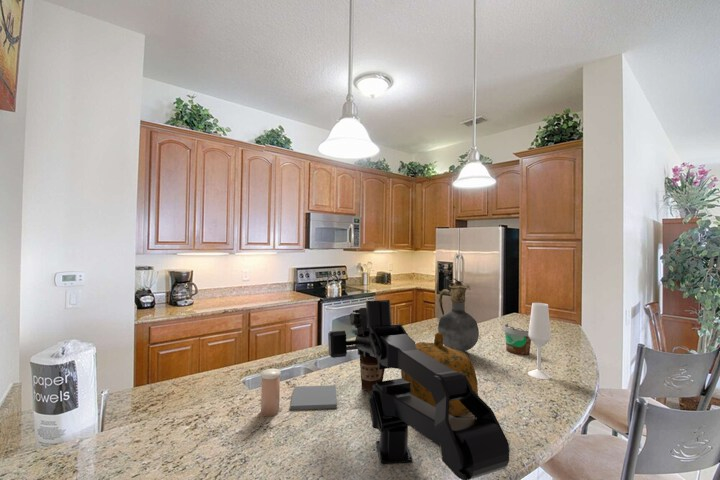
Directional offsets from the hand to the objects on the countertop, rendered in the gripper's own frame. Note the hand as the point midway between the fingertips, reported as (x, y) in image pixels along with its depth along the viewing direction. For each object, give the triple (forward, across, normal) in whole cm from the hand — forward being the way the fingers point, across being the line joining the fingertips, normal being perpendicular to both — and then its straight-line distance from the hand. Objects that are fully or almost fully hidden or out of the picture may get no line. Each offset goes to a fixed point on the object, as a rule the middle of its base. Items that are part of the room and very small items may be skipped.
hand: (353, 338), depth 89 cm
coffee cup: (+6, -7, +16) cm, 18 cm away
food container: (+17, -75, +14) cm, 78 cm away
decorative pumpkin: (-10, -20, +19) cm, 29 cm away
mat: (+5, +10, +16) cm, 19 cm away
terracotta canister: (+2, +22, +16) cm, 28 cm away
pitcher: (+24, -51, +12) cm, 58 cm away
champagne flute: (-3, -65, +17) cm, 67 cm away
